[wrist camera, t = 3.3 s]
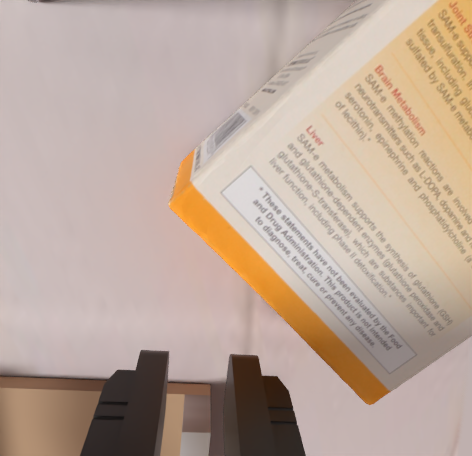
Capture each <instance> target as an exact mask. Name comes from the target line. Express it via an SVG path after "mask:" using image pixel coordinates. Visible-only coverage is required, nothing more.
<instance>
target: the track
mask: <svg viewBox="0 0 472 456" xmlns="http://www.w3.org/2000/svg"><path fill="white" fill-rule="evenodd" d="M106 382H107V381H104V380H78V379H52V378H26V377H0V456H80V454H81V451H82V448H83V445H84V442H85V439H86V436H87V433H88V430H89V427H90V424H91V421H92V419H93V415H94V413H95V410H96V407H97V405H98V401H99V398H100V395H101V392H102V389H103V386H104V384H105V383H106ZM210 437H211V396H210V385H209V384H183V383H167V398H166V411H165V421H164V429H163V437H162V445H161V453H160V456H208V455H209V446H210Z"/></svg>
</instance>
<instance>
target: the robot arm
mask: <svg viewBox="0 0 472 456" xmlns="http://www.w3.org/2000/svg"><path fill="white" fill-rule="evenodd" d="M168 365H169V351H150V350H141V352H140V355H139V359H138V363H137V367H136V371H134V370H117V371H116V372H115V373H114V374H113V375H112V376H111V377H110V378H109V379H108V381H107V382H106V383H105V384H104V386H103V389H102V392H101V395H100V398H99V401H98V405H97V407H96V410H95V413H94V415H93V419H92V421H91V424H90V427H89V430H88V433H87V436H86V439H85V442H84V445H83V448H82V451H81V454H80V456H160V453H161V445H162V437H163V429H164V421H165V411H166V398H167V382H168ZM223 432H224V453H225V456H306V455H305V451H304V447H303V444H302V440H301V436H300V432H299V429H298V425H297V421H296V417H295V413H294V411H293V406H292V402H291V398H290V394H289V391H288V390H287V388H286V387H285V386H284V385H283V383H282V382H281V381H280V380H279V378H278V377H277V376H262V374H261V368H260V363H259V358H258V356H257V355H235V354H230V357H229V364H228V372H227V381H226V389H225V397H224V409H223Z"/></svg>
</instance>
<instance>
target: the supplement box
mask: <svg viewBox="0 0 472 456" xmlns="http://www.w3.org/2000/svg"><path fill="white" fill-rule="evenodd" d="M178 171H179V172H178V173H177V177H176V181H175V185H174V187H173V191H172V192H171V193H172V194H171V197H170V200H169V202H168V205H169V207H170V209H171V210H172V211H174V212H175V213H176V214H177V215H178V216H179V217H180V218H181V219H182V220H183V221H184V222H185V223H186V224H187V225H188V226H189V227H190V228H191V229H192V230H193V231H194V232H196V233H197V234H198V235H199V236H200V237H201V238H202V239H203V240H204V241H205V242H206V243H207V244H208V245H209V246H210V247H211V248H212V249H213V250H214V251H215V252H216V253H217V254H218V255H219V256H220V257H221V258H222V259H223V260H224V261H225V262H226V263H227V264H228V265H229V266H230V267H231V268H232V269H234V270H235V271H236V272H237V273H238V274H239V275H240V276H241V277H242V278H243V279H244V280H245V281H246V282H247V283H248V284H249V285H250V286H251V287H252V288H253V289H254V290H255V291H256V292H257V293H258V294H259V295H260V296H261V297H262V298H263V299H264V300H265V301H266V302H267V303H268V304H269V305H270V306H271V307H272V308H273V309H274V310H275V311H276V312H277V313H278V314H279V315H280V316H281V317H282V318H283V319H284V320H285V321H286V322H287V323H288V324H289V325H290V326H291V327H292V328H293V329H294V330H295V331H296V332H297V333H298V334H299V335H300V336H301V338H303V339H304V340H305V341H306V342H307V344H308V345H309V346H310V347H311V348H312V349H313V350H314V351H315V352H316V353H317V354H318V355H319V356H320V357H321V358H322V359H323V360H324V361H325V362H326V363H327V364H328V365H329V366H330V367H331V368H332V369H333V370H334V371H335V372H336V373H337V374H338V375H339V376H340V378H341V379H342V380H343V381H344V382H346V383H347V384H348V385H349V386H350V387H351V388H352V389H353V390H354V391H355V393H356V394H357V395H358V396H359V397H360V398H361V399H362V400H363V401H364V402H365V403H366V404H369V405H371V404H374V403H375V402H377V401H378V400H379V399H381V398H382V397H383V396H385V395H386V394H388V393H389V392H391V391H392V390H394V389H396V388H397V387H399V386H400V385H401V384H403V383H404V382H405V381H407V380H408V379H410V378H411V377H413V376H414V375H416V374H417V373H419V372H420V371H422V370H423V369H424V368H426V367H427V366H429V365H430V364H431V363H433V362H434V361H436V360H437V359H439V358H440V357H442V356H443V355H444V354H446V353H447V352H449V351H450V350H452V349H453V348H455V347H456V346H458V345H459V344H461V343H462V342H463V341H465V340H466V339H468V338H469V337H471V336H472V0H356V1H355V2H354V3H353V4H352V5H351V6H350V7H349V8H348V9H347V10H345V11H344V12H343V13H342V14H341V15H340V16H339V17H338V18H337V19H336V20H335V21H334V22H332V23H331V24H330V25H329V26H328V27H327V28H326V29H325V30H324V31H323V32H322V33H321V34H320V35H318V36H317V37H316V38H315V39H314V40H313V41H312V42H311V43H310V44H308V45H307V46H306V47H305V48H304V49H303V50H302V51H301V52H300V53H299V54H298V55H296V56H295V57H294V58H293V59H292V60H291V61H290V62H289V63H288V64H287V65H286V66H285V67H283V68H282V69H281V70H280V71H279V72H278V73H277V74H276V75H275V76H274V77H273V78H271V79H270V80H269V81H268V82H267V83H266V84H265V85H264V86H263V87H262V88H261V89H260V90H259V91H257V92H256V93H255V94H254V95H253V96H252V97H251V98H250V99H249V100H248V101H247V102H246V103H245V104H243V105H242V106H241V107H240V108H239V109H238V110H237V111H236V112H235V113H234V114H233V115H231V116H230V117H229V118H228V119H227V120H226V121H225V122H224V123H223V124H222V125H221V126H219V127H218V128H217V129H216V130H215V131H214V132H213V133H212V134H210V135H209V136H208V137H207V138H206V139H205V140H204V141H203V142H202V143H201V144H199V145H198V146H197V147H196V148H195V149H194V150H193V151H192V152H191V153H190V154H189V155H188V156H187V157H186V158H185V159H184V160H183V161H182V162H181V164H180V167H179V168H178Z"/></svg>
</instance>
